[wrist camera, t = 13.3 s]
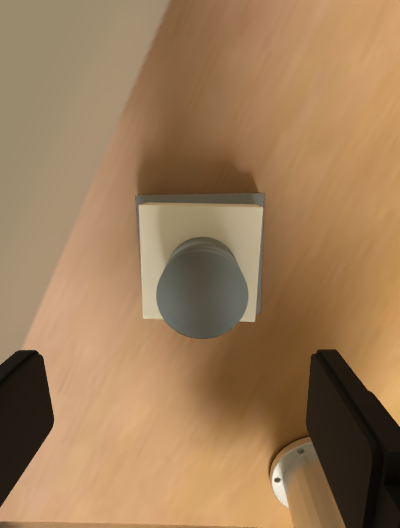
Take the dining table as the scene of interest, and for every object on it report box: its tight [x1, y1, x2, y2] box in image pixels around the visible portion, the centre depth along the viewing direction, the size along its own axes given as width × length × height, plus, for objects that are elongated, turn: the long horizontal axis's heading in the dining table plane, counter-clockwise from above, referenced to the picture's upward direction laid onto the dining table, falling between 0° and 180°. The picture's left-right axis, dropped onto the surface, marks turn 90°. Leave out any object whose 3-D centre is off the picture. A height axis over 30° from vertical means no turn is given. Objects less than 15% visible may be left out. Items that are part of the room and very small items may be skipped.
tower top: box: [139, 202, 263, 322], centre depth 27 cm, size 10×10×4 cm
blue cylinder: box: [156, 237, 248, 339], centre depth 22 cm, size 6×6×6 cm
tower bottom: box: [135, 193, 265, 314], centre depth 31 cm, size 12×12×4 cm
